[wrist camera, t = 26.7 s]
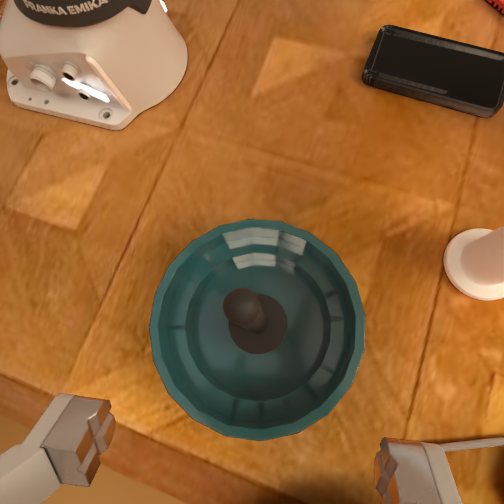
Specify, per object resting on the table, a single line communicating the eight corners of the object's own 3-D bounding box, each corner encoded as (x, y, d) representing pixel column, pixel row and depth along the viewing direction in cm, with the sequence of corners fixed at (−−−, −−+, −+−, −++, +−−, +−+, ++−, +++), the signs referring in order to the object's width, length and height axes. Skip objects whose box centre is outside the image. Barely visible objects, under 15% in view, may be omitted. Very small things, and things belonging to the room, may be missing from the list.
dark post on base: (229, 350, 33) (176, 355, 16) (235, 295, 35) (193, 246, 17) (284, 356, 33) (290, 368, 16) (288, 300, 34) (299, 255, 17)
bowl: (157, 409, 33) (131, 423, 28) (185, 232, 38) (168, 212, 32) (346, 435, 32) (361, 455, 26) (353, 246, 36) (367, 227, 30)
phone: (382, 22, 41) (516, 55, 39) (379, 30, 42) (510, 63, 40) (360, 76, 40) (499, 114, 37) (358, 83, 41) (493, 121, 38)
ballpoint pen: (392, 446, 30) (389, 445, 31) (395, 458, 30) (391, 457, 31) (517, 436, 30) (510, 436, 31) (521, 447, 30) (515, 447, 30)
